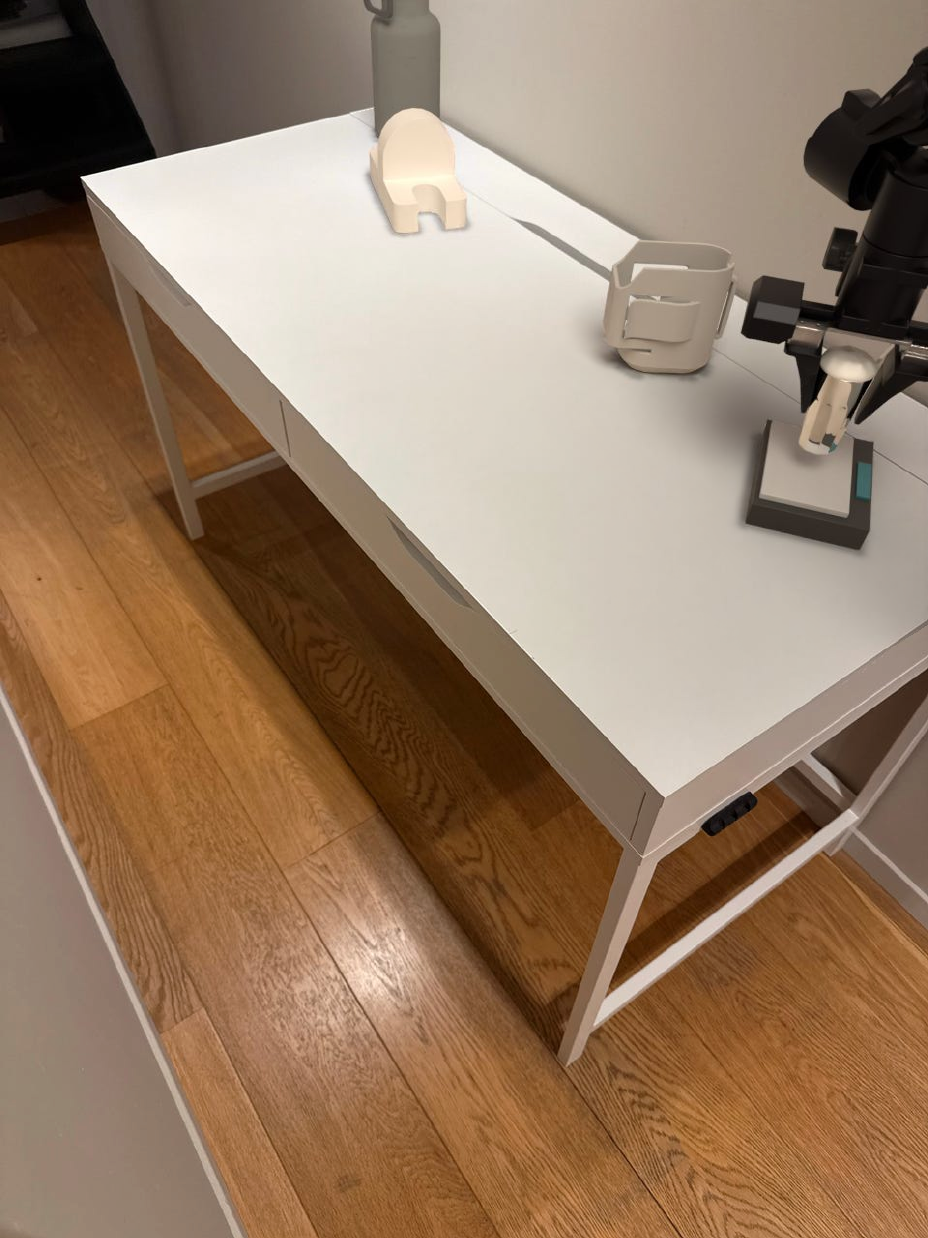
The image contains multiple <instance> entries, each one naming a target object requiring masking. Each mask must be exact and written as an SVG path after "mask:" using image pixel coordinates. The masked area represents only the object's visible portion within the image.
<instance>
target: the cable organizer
mask: <svg viewBox="0 0 928 1238" xmlns="http://www.w3.org/2000/svg"><path fill="white" fill-rule="evenodd" d="M732 255H733V252H731V251H730V250H728V249H727V248H724V247H722V246H720V245H717V244H713V243H707V242H696V241H695V242H694V241H691V242H690V241H674V240H673V241H672V240H671V241H670V240H652V239H651V240H648V239H639V240H638V241H636V243H635V244H634V245H633V246H632V247H631V249H630V250H629V251H628V252H627V253H626V254H625V255H624V257H622V258H621V259H620V260H618V261H617V262H615V263H614V264H612V265H611V269H610V276H609V282H608V288H607V295H606V302H605V307H604V312H603V318H602V319H603V320H602V323H603V331H604V341H605V344H606V345H608V346H610V347H613V348H617V351H618V355H619V356H620V357H621V358H622V359H623V361H625V363H627V365H628V366H629V367H630V368H632V369H633V370H636V371H638V372H640V373H641V372H642V373H653V374H654V373H655V374H656V373H665V374H688V373H689V374H690V373H692V372H695V371H697V370H698V369H700V368H702V367H704V366H705V365H707V363H709V360H710V357H711V354H712V351H713V346H714V343H715V340H720V339H721V338H723V336H724V333H725V330H726V326H727V323H728V320H729V315H730V312H731V309H732V306H733V305H732V304H733V302H734V297H735V294H736V291H737V287H738V284H739V279H738V276H737V275H736V273H734V270H735V266H736V262H731V260H732ZM635 264H637V265H639V264H641V265H659V266H661V265H662V266H680V267H681V266H682V267H687V268H670V267H651V266H650V267H649V266H644V267H643V268H642V269H641V270H640V271H639V272H638V274H637V275H635V277H634V278H632V277H633V273H634V267H635ZM631 296H638V297H641V296H644V297H660V298H659V300H656V299H649V298H636V299H633V300H631V302H630V297H631ZM629 303H630V304H629ZM625 324H626V325H625ZM625 326H626V327H625Z"/></svg>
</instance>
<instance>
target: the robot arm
mask: <svg viewBox="0 0 928 1238" xmlns="http://www.w3.org/2000/svg"><path fill="white" fill-rule="evenodd" d="M926 147H927V148H926ZM803 167H804V170H805V172H806V175H808V177H809V178H810V179H812V180H813V181H815V182H816V183H817V184H818V185H820V186H821V187H823V188H824V189H825V190H827V191H828V192H829V193H831V194H832V195H833V196H835V197H836V198H837V199H838V200H840V201H842V203H844V204H846V205H847V206H848V207H850V208H851V209H853V210H855V211H858V212H867V211H869V213H868V216H867V218H866V221H865V224H864V226H863V230H862V231H861V235H860V238H859V240H858V242H857V239H858V237H859V232H858V231H857V230H855V229H849V228H844V227H838V226H834V227H833V229H832V232H831V234H830V238H829V240H828V243H827V246H826V250H825V253H824V255H823V258H822V262H821V266H822V269H823V270H827V271H834V272H837V273H841V274H840V277H839V279H838V281H837V283H836V284H837V285H836V287H835V292H834V297H837V299H836V302H835V304H834V305H833V304H830V303H822V302H817V301H812V300H806V299H803V298H804V297H803V296H804V291H805V286H806V285H805V284H806V282H803V281H799V280H798V281H797V280H793V279H787V278H781V277H776V276H770V275H765V274H762V275H761V276H760V277H758V278H756V279H755V280H754V281H753V283H752V286H751V290H750V293H749V297H748V300H747V304H746V308H745V312H744V317H743V321H742V325H741V329H740V334H741V335H742V336H743V337H744V338H746V339H750V340H754V341H758V342H759V341H760V342H764V343H769V344H775V345H781V344H783V343H784V344H783V349H782V350H783V353H784V354H785V355H787V356H790V357H794V358H795V362H796V367H797V372H798V377H799V385H800V386H799V387H800V389H799V391H800V413H801V414H804V415H805V414H806V411H807V409H808V407H809V405H810V402H811V399H812V394H813V390H814V386H815V382H816V378H817V374H818V369H819V365H820V361H821V357H822V354H823V349H824V348H823V347H824V340H825V336H826V333H827V332H829V333H836V334H840V335H845V336H851V337H855V338H862V339H868V340H873V341H878V342H883V343H888V344H890V345H889V347H890V346H891V344H892V343H893V344H895V347H894V348H893V349H892V350H891V351H890V352H889V353H888V354H887V355H886V356H885V358H884V359H883V360H882V363H881V365H880V366H879V368H878V369H877V373H876V375H875V377H874V378H873V380H872V382H871V384H870V385H869V387H868V389H867V391H866V393H865V394H864V396H863V398H862V400H861V401H860V403H859V405H858V407H857V409H856V412H855V416H854V421H853V424H854V425H857V426H858V425H861V424H862V423H863V422H864V421H865V420H867V419H868V418H869V417H870V416H872V414H874V413H875V412H876V411H878V410H879V409H880V408H881V407H882V406H883V405H885V404H886V403H887V402H889V400H891V399H892V398H894V397H895V396H897V395H898V394H900V393H901V392H903V391H905V390H906V389H908V388H909V387H911V386H912V385H914V384H915V383H917V382H920V383H921V382H922V383H928V319H927V318H922V317H916V316H914V315H915V313H916V311H917V309H918V306H919V304H920V302H921V300H922V297H923V295H924V293H925V291H926V290H927V289H928V45H927V46H925V47H922V48H921V49H920V50H919V51H918V52H916V53H915V55H914V56H913V58H912V62H911V64H910V65H909V67H908V68H907V71H906V72H905V74H904V75H903V76H902V77H901V78H900V79H899V80H898V81H897V82H896V83H895V84H894V85H892V86H891V88H890V89H889V90H888V91H887V92H886V93H884V95H883V96H882V97H881V96H880V95H879V94H878V93H877V92H876V91H874V90H872V89H870V88H861V89H859V88H858V89H849V90H846V92H845V93H844V95H843V99H842V101H841V105H840V107H838V108H836V109H835V110H833V111H832V112H831V113H828V115H826V117H825V118H824V119H823V120H822V121H821V122H820V123H819V124H818V125H817V127H816V129H815V130H814V132H813V133H812V135H811V136H810V137H809V138H808V139H807V141H806V144H805V147H804V152H803Z"/></svg>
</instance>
